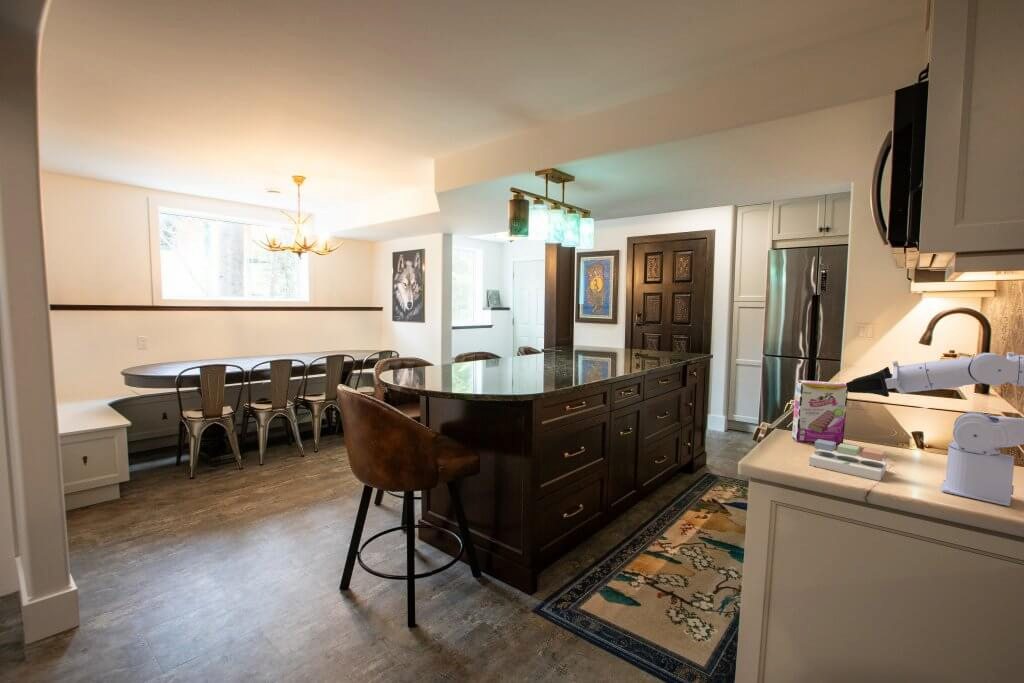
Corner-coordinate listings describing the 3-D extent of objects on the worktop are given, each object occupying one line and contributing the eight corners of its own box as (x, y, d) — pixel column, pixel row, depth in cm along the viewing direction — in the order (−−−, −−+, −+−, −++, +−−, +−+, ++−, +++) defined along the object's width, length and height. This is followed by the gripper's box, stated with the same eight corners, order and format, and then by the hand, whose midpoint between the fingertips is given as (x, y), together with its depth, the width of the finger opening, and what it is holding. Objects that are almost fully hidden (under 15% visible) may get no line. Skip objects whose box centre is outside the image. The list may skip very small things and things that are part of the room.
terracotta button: (884, 457, 104) (884, 451, 103) (881, 461, 101) (882, 454, 101) (864, 454, 106) (865, 447, 106) (861, 457, 104) (862, 450, 103)
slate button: (835, 448, 110) (835, 442, 110) (832, 451, 107) (832, 445, 107) (818, 445, 112) (818, 439, 112) (814, 448, 110) (814, 441, 110)
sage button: (859, 453, 107) (859, 446, 107) (856, 456, 104) (856, 449, 104) (840, 449, 109) (841, 443, 109) (837, 452, 107) (837, 446, 107)
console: (886, 470, 106) (886, 461, 105) (879, 480, 99) (880, 470, 99) (818, 456, 115) (819, 447, 115) (809, 465, 108) (809, 455, 108)
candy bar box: (796, 442, 127) (800, 382, 125) (791, 437, 131) (795, 379, 130) (844, 446, 124) (849, 385, 122) (837, 441, 128) (841, 382, 127)
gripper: (926, 355, 103) (852, 366, 112) (920, 359, 92) (839, 370, 102) (935, 386, 102) (860, 395, 111) (930, 394, 91) (848, 403, 101)
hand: (850, 385), depth 106 cm, fingers open, 7 cm apart
